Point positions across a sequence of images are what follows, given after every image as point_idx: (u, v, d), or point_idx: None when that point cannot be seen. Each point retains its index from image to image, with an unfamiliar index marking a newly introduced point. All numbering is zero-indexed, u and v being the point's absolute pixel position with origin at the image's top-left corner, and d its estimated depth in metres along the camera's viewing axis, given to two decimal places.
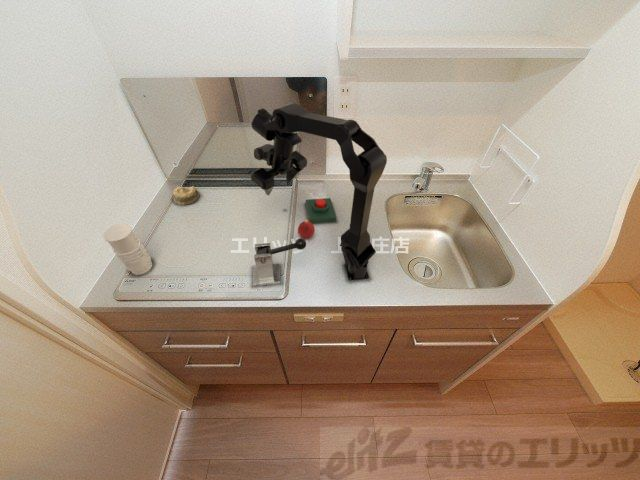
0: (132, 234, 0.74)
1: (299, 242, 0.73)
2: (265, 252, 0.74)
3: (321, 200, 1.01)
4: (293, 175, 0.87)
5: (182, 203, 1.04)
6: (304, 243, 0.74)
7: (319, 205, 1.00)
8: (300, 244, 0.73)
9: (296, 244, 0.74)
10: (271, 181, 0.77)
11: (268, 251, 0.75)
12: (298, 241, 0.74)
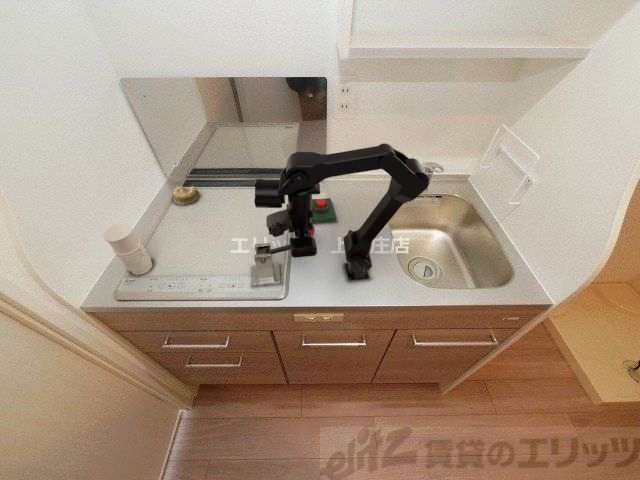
0: (132, 234, 0.74)
1: None
2: (265, 252, 0.74)
3: (321, 200, 1.01)
4: None
5: (182, 203, 1.04)
6: None
7: (319, 205, 1.00)
8: None
9: None
10: (315, 242, 0.66)
11: (268, 251, 0.75)
12: None
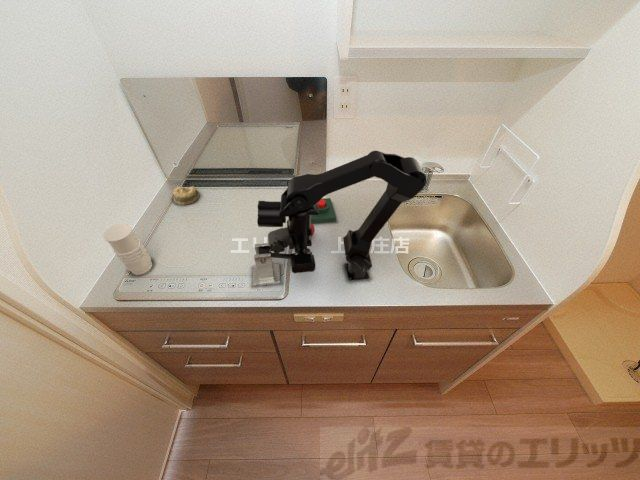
0: (132, 234, 0.74)
1: None
2: (267, 253, 0.75)
3: (321, 200, 1.01)
4: None
5: (182, 203, 1.04)
6: None
7: (319, 205, 1.00)
8: None
9: None
10: (313, 258, 0.70)
11: None
12: None
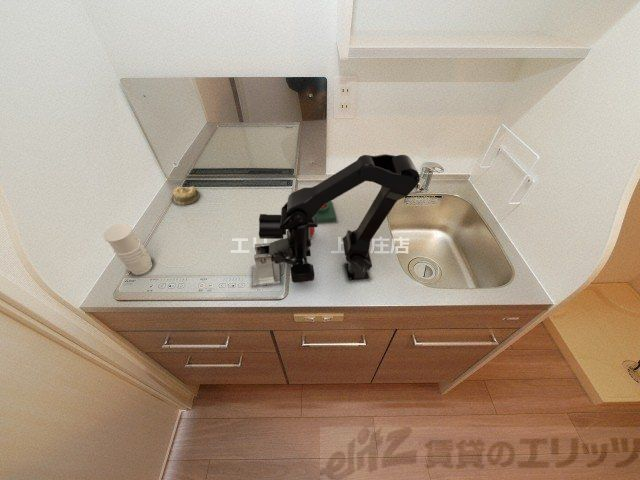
0: (132, 234, 0.74)
1: None
2: None
3: None
4: None
5: (182, 203, 1.04)
6: None
7: None
8: None
9: (296, 262, 0.79)
10: (313, 268, 0.73)
11: None
12: None
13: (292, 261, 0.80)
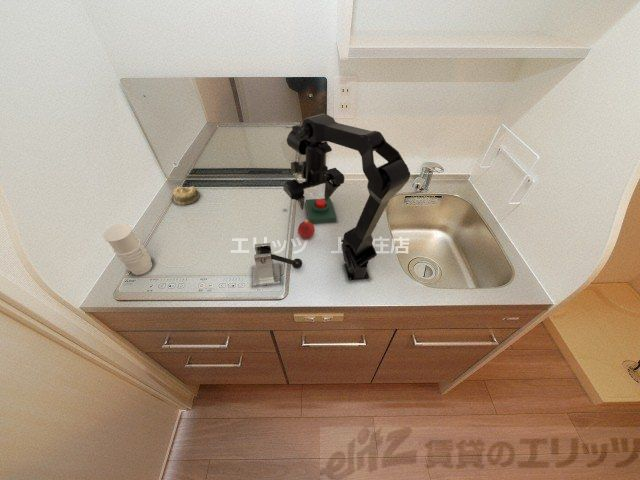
0: (132, 234, 0.74)
1: (299, 262, 0.80)
2: None
3: (321, 200, 1.01)
4: (330, 191, 0.85)
5: (182, 203, 1.04)
6: (301, 265, 0.81)
7: (319, 205, 1.00)
8: (299, 264, 0.80)
9: (296, 262, 0.79)
10: (300, 191, 0.77)
11: None
12: (299, 261, 0.80)
13: (292, 261, 0.80)
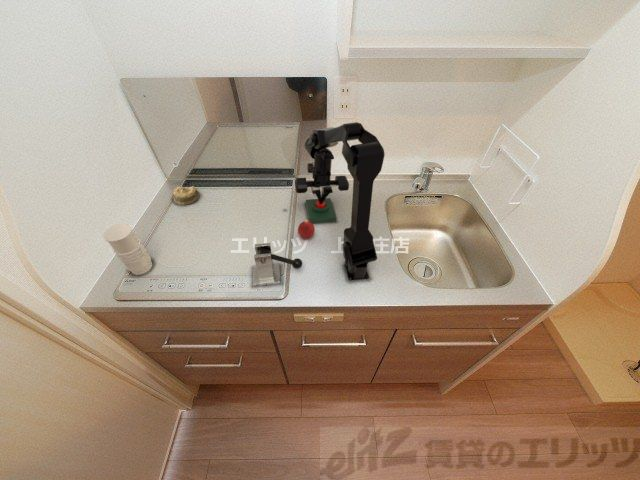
0: (132, 234, 0.74)
1: (299, 262, 0.80)
2: None
3: None
4: (323, 195, 0.97)
5: (182, 203, 1.04)
6: (301, 265, 0.81)
7: (319, 206, 1.00)
8: (299, 264, 0.80)
9: (296, 262, 0.79)
10: (304, 188, 0.92)
11: None
12: (299, 261, 0.80)
13: (292, 261, 0.80)
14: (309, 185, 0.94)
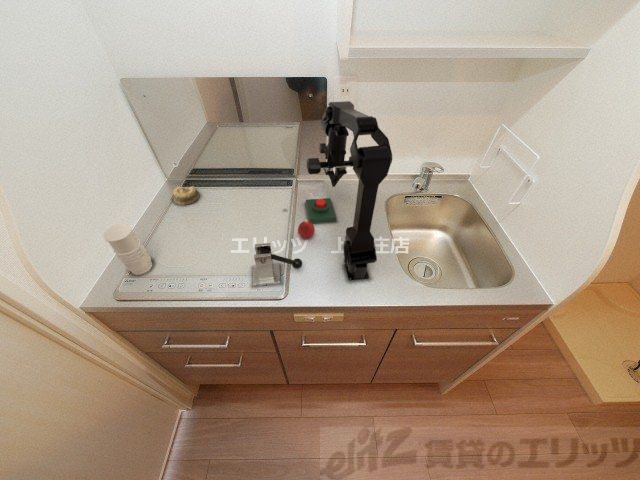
0: (132, 234, 0.74)
1: (299, 262, 0.80)
2: None
3: (321, 200, 1.01)
4: (336, 177, 0.91)
5: (182, 203, 1.04)
6: (301, 265, 0.81)
7: (319, 205, 1.00)
8: (299, 264, 0.80)
9: (296, 262, 0.79)
10: (317, 168, 0.86)
11: None
12: (299, 261, 0.80)
13: (292, 261, 0.80)
14: (322, 166, 0.89)
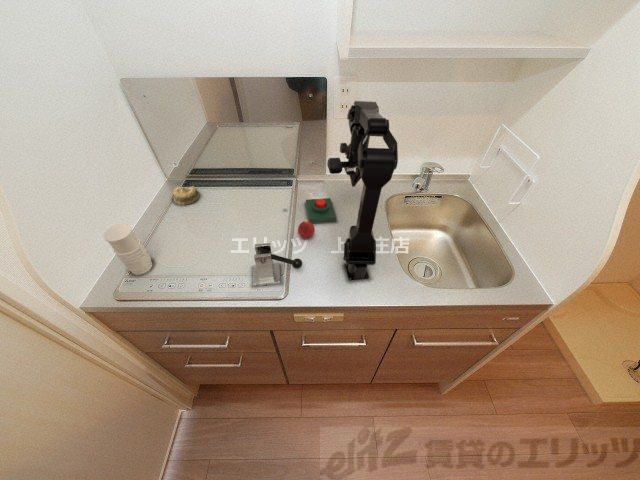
0: (132, 234, 0.74)
1: (299, 262, 0.80)
2: None
3: (321, 200, 1.01)
4: (357, 177, 0.91)
5: (182, 203, 1.04)
6: (301, 265, 0.81)
7: (319, 205, 1.00)
8: (299, 264, 0.80)
9: (296, 262, 0.79)
10: (338, 168, 0.86)
11: None
12: (299, 261, 0.80)
13: (292, 261, 0.80)
14: (343, 165, 0.89)
